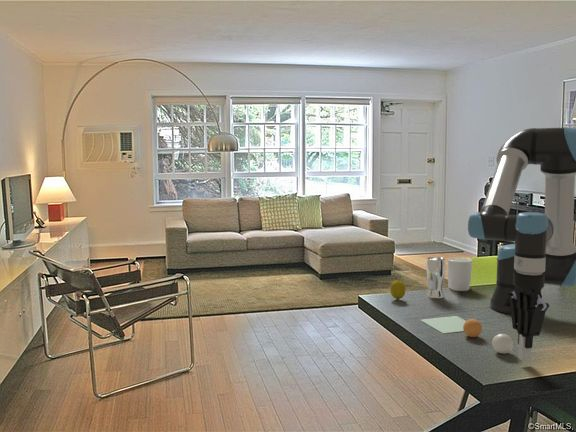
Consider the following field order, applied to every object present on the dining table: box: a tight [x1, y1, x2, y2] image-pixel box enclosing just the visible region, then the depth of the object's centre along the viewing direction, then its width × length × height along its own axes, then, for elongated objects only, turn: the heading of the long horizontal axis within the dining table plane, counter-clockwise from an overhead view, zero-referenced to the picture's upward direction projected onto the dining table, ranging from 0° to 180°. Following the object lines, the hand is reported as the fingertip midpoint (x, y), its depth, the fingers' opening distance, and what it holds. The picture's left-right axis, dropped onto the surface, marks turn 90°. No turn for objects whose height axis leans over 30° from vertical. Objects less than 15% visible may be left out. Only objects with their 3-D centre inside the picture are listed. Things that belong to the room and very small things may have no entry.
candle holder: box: [447, 256, 474, 292], centre depth 227 cm, size 10×10×12 cm
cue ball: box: [492, 333, 514, 355], centre depth 157 cm, size 6×6×6 cm
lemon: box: [390, 279, 406, 301], centre depth 210 cm, size 6×6×8 cm
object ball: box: [463, 318, 483, 338], centre depth 170 cm, size 6×6×6 cm
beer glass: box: [426, 256, 446, 300], centre depth 214 cm, size 7×7×15 cm
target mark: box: [419, 315, 467, 335], centre depth 182 cm, size 14×14×1 cm
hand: (524, 358), depth 149 cm, fingers closed
